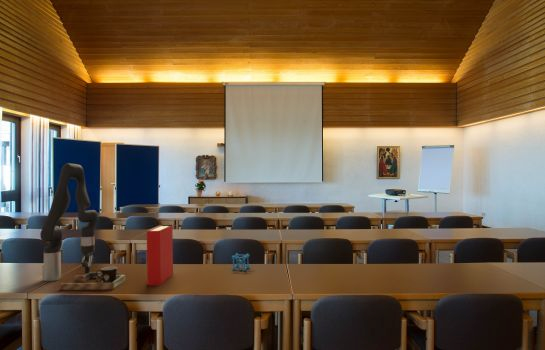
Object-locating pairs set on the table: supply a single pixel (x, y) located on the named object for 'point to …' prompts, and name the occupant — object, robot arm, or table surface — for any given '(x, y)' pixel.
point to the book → (159, 254)
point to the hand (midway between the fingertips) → (87, 273)
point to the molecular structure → (240, 262)
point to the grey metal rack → (92, 286)
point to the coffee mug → (108, 274)
